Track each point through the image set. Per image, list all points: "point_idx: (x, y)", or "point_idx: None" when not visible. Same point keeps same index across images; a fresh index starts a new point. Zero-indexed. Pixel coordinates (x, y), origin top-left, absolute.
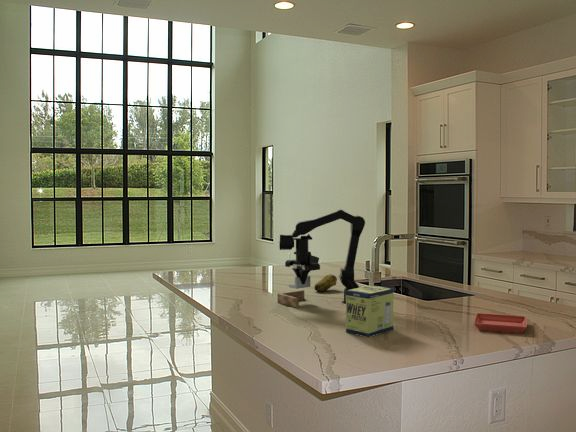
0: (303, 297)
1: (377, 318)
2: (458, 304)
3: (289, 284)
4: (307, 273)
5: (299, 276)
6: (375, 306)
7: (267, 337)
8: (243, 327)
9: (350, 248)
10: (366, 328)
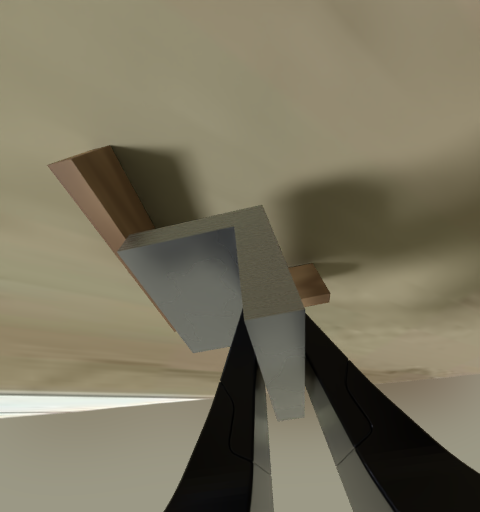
0: (109, 157)
1: None
2: None
3: (195, 351)
4: (413, 438)
5: (265, 404)
6: None
7: (459, 368)
8: (377, 380)
9: None
10: None
